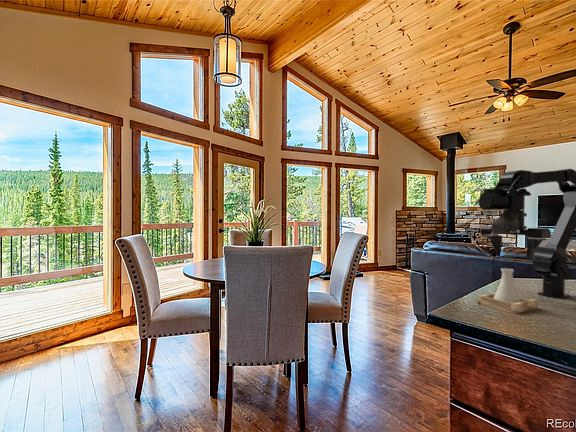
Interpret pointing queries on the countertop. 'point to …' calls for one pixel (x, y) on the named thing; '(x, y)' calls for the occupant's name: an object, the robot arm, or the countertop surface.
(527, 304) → the tray
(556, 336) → the countertop surface
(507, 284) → the flask
